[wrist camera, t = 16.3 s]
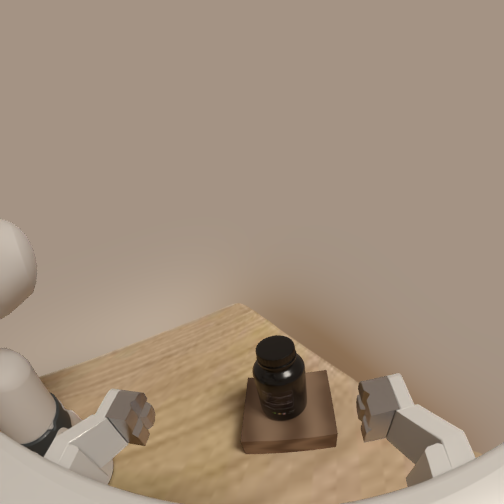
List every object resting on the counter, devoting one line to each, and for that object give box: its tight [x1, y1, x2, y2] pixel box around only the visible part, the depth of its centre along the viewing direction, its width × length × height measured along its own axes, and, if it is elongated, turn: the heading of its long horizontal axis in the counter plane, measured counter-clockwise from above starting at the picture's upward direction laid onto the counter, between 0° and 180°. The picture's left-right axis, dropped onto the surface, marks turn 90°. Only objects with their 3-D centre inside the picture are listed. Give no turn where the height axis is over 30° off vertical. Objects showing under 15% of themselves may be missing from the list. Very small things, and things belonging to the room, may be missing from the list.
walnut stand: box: [241, 370, 338, 454], centre depth 37 cm, size 13×13×4 cm
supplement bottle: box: [253, 335, 307, 421], centre depth 35 cm, size 7×7×12 cm
